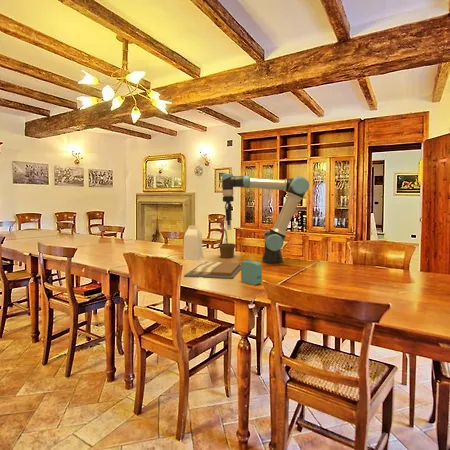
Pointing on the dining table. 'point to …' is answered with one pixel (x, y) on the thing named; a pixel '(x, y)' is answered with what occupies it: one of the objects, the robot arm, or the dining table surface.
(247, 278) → the data package
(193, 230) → the milk
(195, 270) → the plank
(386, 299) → the dining table surface
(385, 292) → the dining table surface
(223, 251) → the flowerpot
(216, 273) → the floor frame
